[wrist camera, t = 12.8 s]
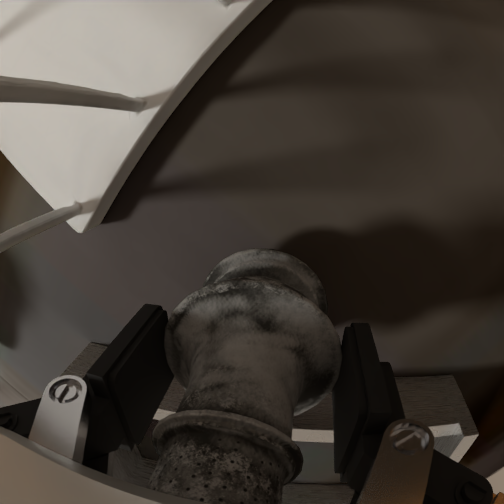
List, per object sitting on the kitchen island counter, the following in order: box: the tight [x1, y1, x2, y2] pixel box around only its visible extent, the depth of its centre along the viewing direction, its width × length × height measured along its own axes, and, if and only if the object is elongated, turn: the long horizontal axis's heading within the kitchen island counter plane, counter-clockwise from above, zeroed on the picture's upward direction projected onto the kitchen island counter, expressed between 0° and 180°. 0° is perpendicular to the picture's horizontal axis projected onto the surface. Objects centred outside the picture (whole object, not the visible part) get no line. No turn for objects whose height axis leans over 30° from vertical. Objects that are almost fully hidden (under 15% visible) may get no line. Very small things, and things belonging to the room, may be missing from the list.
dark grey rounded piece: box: [146, 248, 343, 504], centre depth 8 cm, size 6×6×12 cm
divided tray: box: [60, 342, 479, 504], centre depth 19 cm, size 24×23×5 cm
